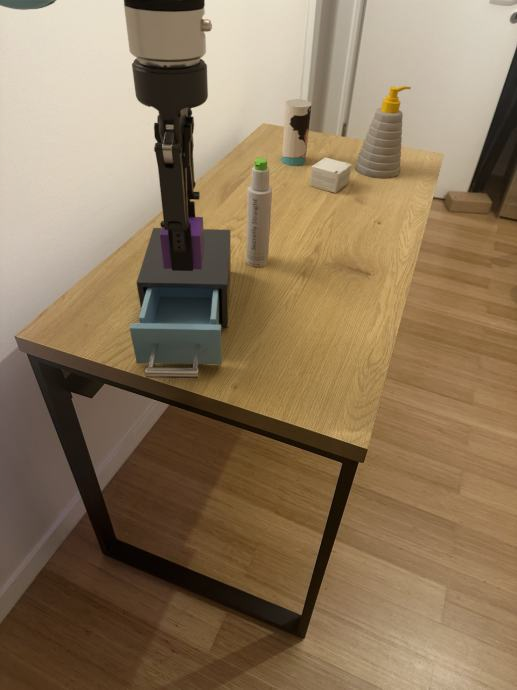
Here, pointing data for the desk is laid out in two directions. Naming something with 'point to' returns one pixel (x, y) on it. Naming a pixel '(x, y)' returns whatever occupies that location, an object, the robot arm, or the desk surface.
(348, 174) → the small box
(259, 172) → the bottle
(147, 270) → the grey square box housing
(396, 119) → the soap bottle
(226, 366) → the desk surface
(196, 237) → the purple cube
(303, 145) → the cup
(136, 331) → the drawer
